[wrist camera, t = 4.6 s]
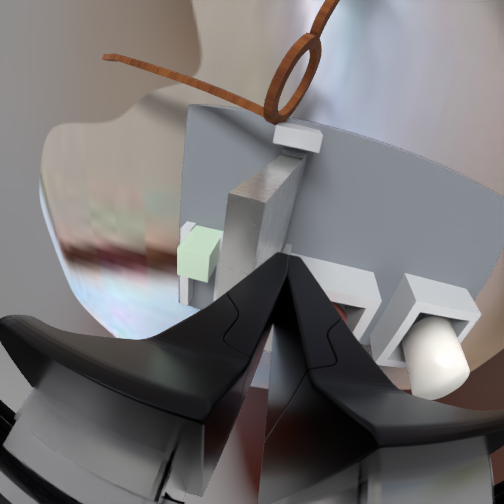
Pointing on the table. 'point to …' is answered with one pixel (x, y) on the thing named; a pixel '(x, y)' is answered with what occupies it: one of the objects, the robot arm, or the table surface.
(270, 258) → the robot arm
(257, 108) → the glasses
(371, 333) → the panel
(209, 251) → the slider knob
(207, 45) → the table surface
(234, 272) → the grey rectangular slab
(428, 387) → the button white
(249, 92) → the table surface
